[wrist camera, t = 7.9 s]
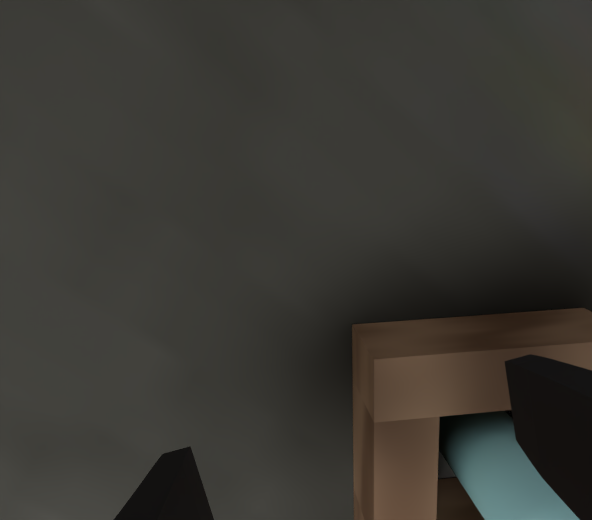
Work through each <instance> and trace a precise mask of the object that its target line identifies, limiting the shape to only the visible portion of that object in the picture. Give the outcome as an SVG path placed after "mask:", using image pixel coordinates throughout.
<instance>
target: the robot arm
mask: <svg viewBox="0 0 592 520" xmlns="http://www.w3.org/2000/svg"><path fill="white" fill-rule="evenodd" d="M504 362H505V368H506V375H507V382H508V389H509V396H510V403H511V410H512V417H513V424H514V431H515V438H516V441H517V442H518V444H519V445H520V447H521V448H522V450H523V451H524V453H525V454H526V456H527V457H528V459H529V460H530V462H531V463H532V465H533V466H534V467H535V469H536V470H537V472H538V473H539V474H540V476H541V477H542V478H543V479H544V481H545V482H546V483H547V484H548V485H549V486H550V487H551V488H552V490H553V491H554V492H555V493H556V494H557V495H558V496H559V497H560V498H561V500H562V501H563V502H564V503H565V504H566V505H567V506H568V507H569V508H570V510H571V511H572V512H573V513H574V514H575V515H576V516H577V517H578V518H579V519H580V520H592V370H588V369H585V368H582V367H578V366H575V365H571V364H568V363H564V362H561V361H557V360H554V359H550V358H546V357H542V356H537V355H532V354H529V355H526V356H522V357H518V358H515V359H511V360H507V361H504ZM114 520H214V519H213V516H212V512H211V509H210V506H209V503H208V500H207V497H206V494H205V491H204V487H203V484H202V481H201V478H200V475H199V472H198V469H197V466H196V462H195V459H194V456H193V453H192V450H191V447H187V448H183V449H179V450H176V451H172V452H168V453H165V454H163V455H162V456H161V457H160V458H159V459H158V461H157V462H156V463H155V465H154V466H153V467H152V469H151V470H150V472H149V473H148V474H147V476H146V477H145V479H144V480H143V481H142V483H141V484H140V485H139V487H138V488H137V490H136V491H135V492H134V494H133V495H132V496H131V498H130V499H129V500H128V502H127V503H126V504H125V506H124V507H123V508H122V510H121V511H120V512H119V514H118V515H117V516H116V518H115V519H114Z"/></svg>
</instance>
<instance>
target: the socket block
mask: <svg viewBox="0 0 592 520" xmlns="http://www.w3.org/2000/svg"><path fill="white" fill-rule="evenodd" d="M529 354H532V355H537V356H542V357H546V358H550V359H554V360H557V361H561V362H564V363H568V364H571V365H575V366H578V367H582V368H585V369H588V370H592V312H591V311H589V310H587V309H585V308H573V309H559V310H545V311H531V312H518V313H504V314H490V315H476V316H462V317H448V318H434V319H420V320H407V321H393V322H379V323H365V324H352V367H353V471H354V520H484V518H483V516H482V515H481V513H480V512H479V510H478V509H477V507H476V506H475V504H474V503H473V501H472V500H471V498H470V496H469V495H468V493H467V492H466V490H465V489H464V487H463V486H462V484H461V483H460V481H459V480H458V478H457V477H456V478H446V479H438V451H439V420H440V417H441V416H452V415H463V414H474V413H484V412H495V411H506V410H511V403H510V396H509V389H508V382H507V375H506V368H505V362H504V361H507V360H511V359H515V358H518V357H522V356H526V355H529Z"/></svg>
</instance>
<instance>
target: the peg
mask: <svg viewBox="0 0 592 520" xmlns="http://www.w3.org/2000/svg"><path fill="white" fill-rule="evenodd" d="M439 450H440V452H441V453H442V455H443V456H444V458H445V460H446V461H447V463H448V464H449V466H450V467H451V469H452V470H453V472H454V473H455V475H456V476H457V478H458V480H459V481H460V483H461V484H462V486H463V487H464V489H465V490H466V492H467V493H468V495H469V496H470V498H471V500H472V501H473V503H474V504H475V506H476V507H477V509H478V510H479V512H480V513H481V515H482V516H483V518H484V520H580V519H579V518H578V517H577V516H576V515H575V514H574V513H573V512H572V511H571V510H570V508H569V507H568V506H567V505H566V504H565V503H564V502H563V501H562V500H561V498H560V497H559V496H558V495H557V494H556V493H555V492H554V491H553V490H552V488H551V487H550V486H549V485H548V484H547V483H546V482H545V481H544V479H543V478H542V477H541V476H540V474H539V473H538V472H537V470H536V469H535V467H534V466H533V465H532V463H531V462H530V460H529V459H528V457H527V456H526V454H525V453H524V451H523V450H522V448H521V447H520V445H519V444H518V442H517V441H516V438H515V431H514V424H513V419H512V418H511V417H510V416H509V415H508V414H507V413H506V412H505V411H495V412H484V413H474V414H463V415H452V416H441V417H440V420H439Z"/></svg>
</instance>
